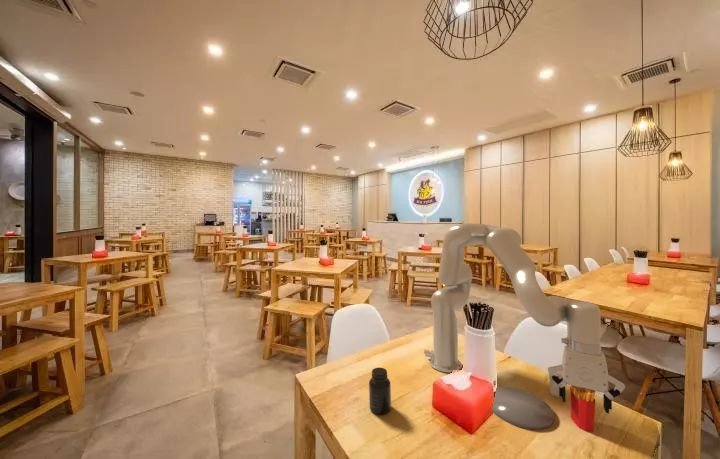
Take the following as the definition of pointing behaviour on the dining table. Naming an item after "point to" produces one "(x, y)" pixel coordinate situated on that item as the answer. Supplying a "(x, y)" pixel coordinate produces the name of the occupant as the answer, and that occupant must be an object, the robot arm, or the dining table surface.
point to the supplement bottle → (379, 392)
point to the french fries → (582, 407)
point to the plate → (522, 408)
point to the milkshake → (555, 384)
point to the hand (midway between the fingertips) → (584, 404)
